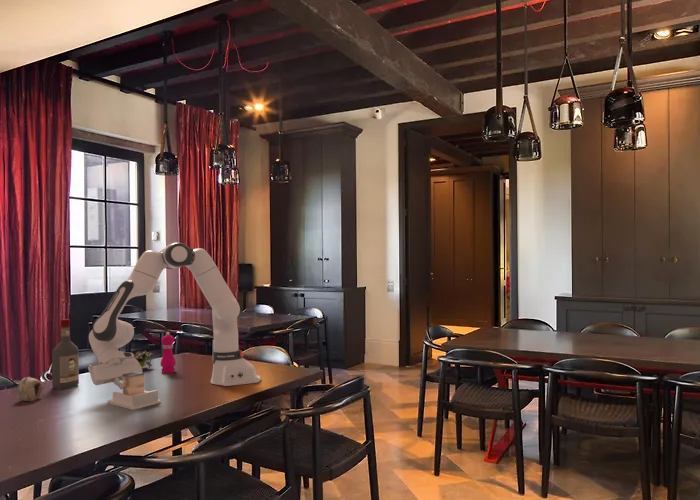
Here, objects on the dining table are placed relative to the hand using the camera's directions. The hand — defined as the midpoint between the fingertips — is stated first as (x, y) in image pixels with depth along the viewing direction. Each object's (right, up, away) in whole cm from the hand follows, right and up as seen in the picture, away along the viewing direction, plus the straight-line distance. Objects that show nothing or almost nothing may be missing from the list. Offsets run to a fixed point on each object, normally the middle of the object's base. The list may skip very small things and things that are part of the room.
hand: (124, 387), depth 218 cm
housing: (+5, -5, -4) cm, 8 cm away
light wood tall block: (+5, -4, -4) cm, 7 cm away
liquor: (-37, -6, +25) cm, 45 cm away
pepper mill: (0, -6, +53) cm, 54 cm away
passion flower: (-16, -6, +60) cm, 63 cm away
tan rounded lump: (-40, -6, +4) cm, 40 cm away
